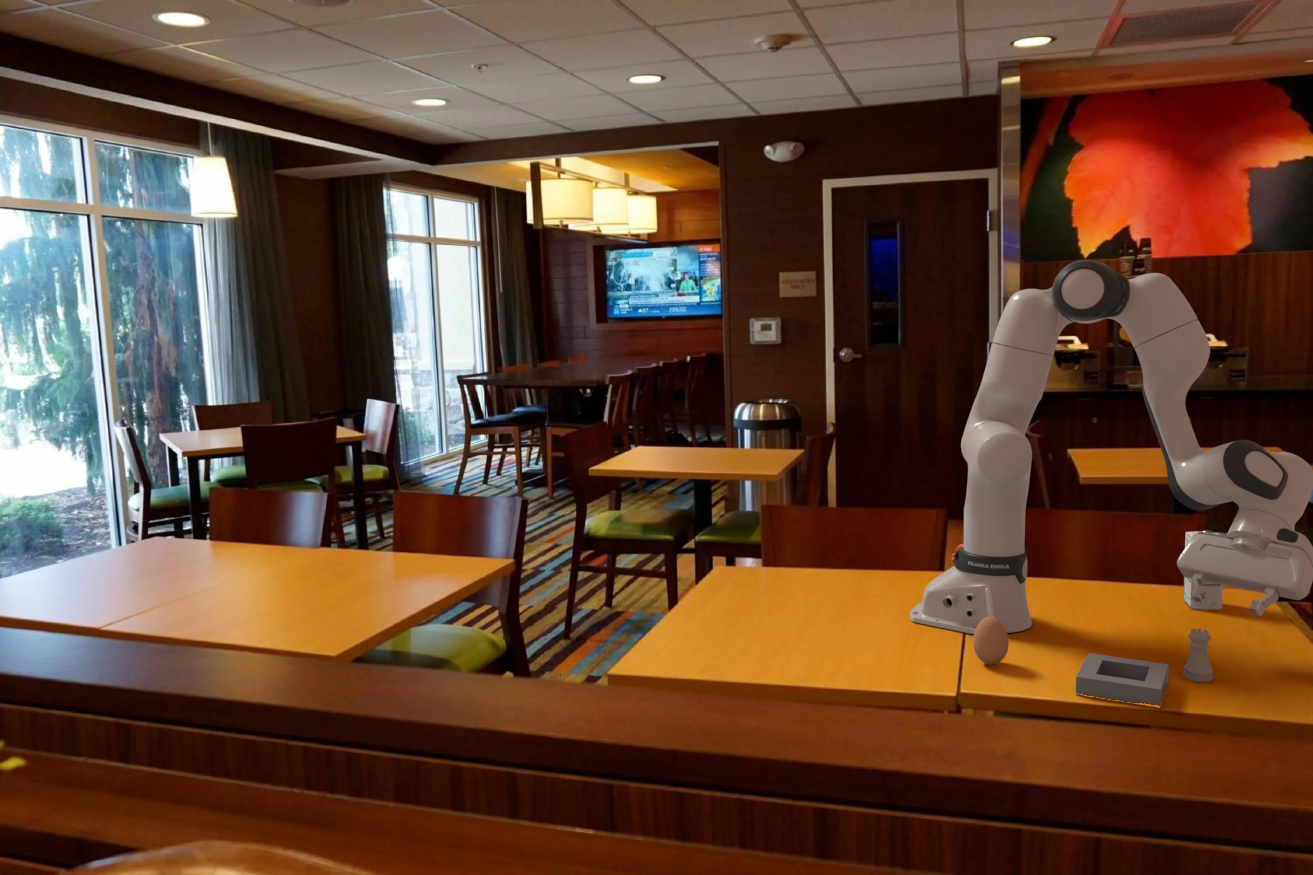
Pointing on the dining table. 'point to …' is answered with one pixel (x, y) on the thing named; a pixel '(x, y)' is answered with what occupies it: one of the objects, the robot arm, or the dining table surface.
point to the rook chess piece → (1198, 657)
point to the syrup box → (1211, 589)
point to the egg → (990, 641)
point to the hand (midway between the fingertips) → (1225, 606)
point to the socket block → (1122, 679)
